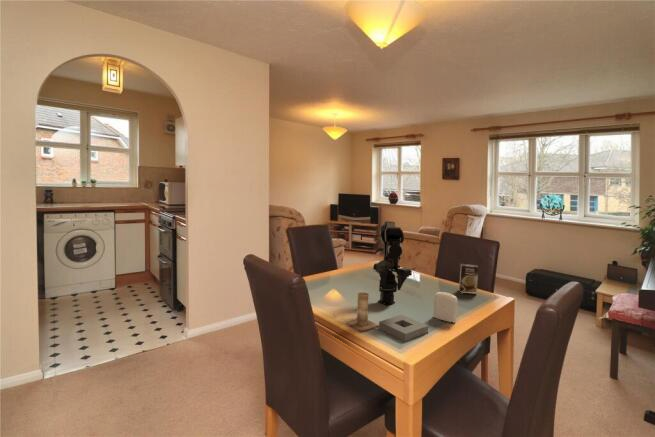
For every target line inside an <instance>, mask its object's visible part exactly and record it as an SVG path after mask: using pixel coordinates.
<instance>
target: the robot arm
mask: <svg viewBox="0 0 655 437" xmlns="http://www.w3.org/2000/svg"><path fill="white" fill-rule="evenodd" d="M379 230H380V231H379V238H380V242H381V244H382V245H383V260H381V261H378V262H376V263H374V264H373V270H375V272H376V273H378V275H379V278H380V279H379V281H378V292H380V296H379V300H377V302H378V303H381V304H382V305H385V306H389V305H392V304H395V303H396V301H395V293H397V291H400V290H401V288H402V287H403V285H404V283H405V281H406V280H407V278H409V277H410V276H412V275H413V274H412V271H413V270H412V269H410V268H406V267H401V265H399V264H400V263H399V261H400V260H401V259H402V258H401V256H402V254H403V249H402V247H401V246H400V245H401V244H404V242H405V237H404V236H405V235H404V232H403V230H402V228H401V227H400V226H396V222H394V221H389V220H388V221H384V224H383V225H382V226H380V229H379ZM395 273H396V274H395ZM396 278H397V280H396Z"/></svg>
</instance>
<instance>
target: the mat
mask: <svg viewBox="0 0 655 437" xmlns="http://www.w3.org/2000/svg"><path fill="white" fill-rule="evenodd" d="M346 324H347V326H348V325H349V326H348V327H350V328H352V329H354V330H355V329H356V331H357V330H358V331H357V332H359V331H360V333H361V332H362V333H364V332H368V331H370V330H371V331H372V330H375V329H377V328H378V329H379V324H378V323H375V322H374V321H371V320H369V319H368V324H367V325H366V326H360V325H358V324H357V318H355V319H352V320H348V321H346V322H345V325H346Z"/></svg>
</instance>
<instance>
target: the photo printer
mask: <svg viewBox="0 0 655 437" xmlns="http://www.w3.org/2000/svg"><path fill="white" fill-rule="evenodd" d="M433 300H434V301H433V302H434V303H433V318H434V317H435V319H438V320H441V321H444V322H448V323H451V322H455V323H457V316H458V315H457V313H458V312H457V311H458V296H456V295H454V294H452V293H449V292H444V291H439V292H436V293H435V294H434V299H433Z"/></svg>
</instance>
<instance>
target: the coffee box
mask: <svg viewBox="0 0 655 437" xmlns="http://www.w3.org/2000/svg"><path fill="white" fill-rule="evenodd" d="M478 277H479V266H478V265H477V264H467V263H466V264H465V263H460V271H459V285H458V292H459V291H461V292H476V293H477V290H478V289H477V288H478V279H479V278H478Z"/></svg>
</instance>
